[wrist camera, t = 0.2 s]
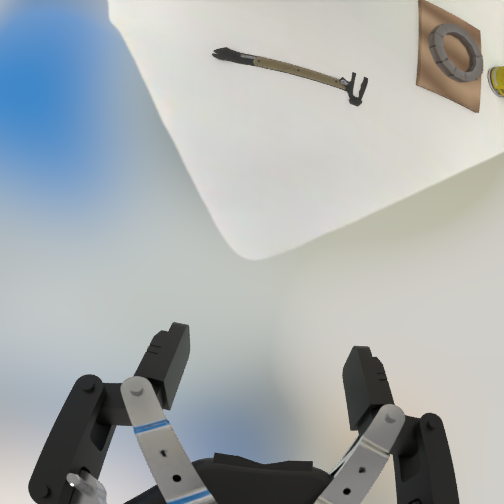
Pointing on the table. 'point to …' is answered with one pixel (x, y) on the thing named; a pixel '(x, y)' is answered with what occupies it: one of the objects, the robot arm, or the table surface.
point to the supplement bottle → (497, 80)
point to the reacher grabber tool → (293, 71)
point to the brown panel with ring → (449, 56)
